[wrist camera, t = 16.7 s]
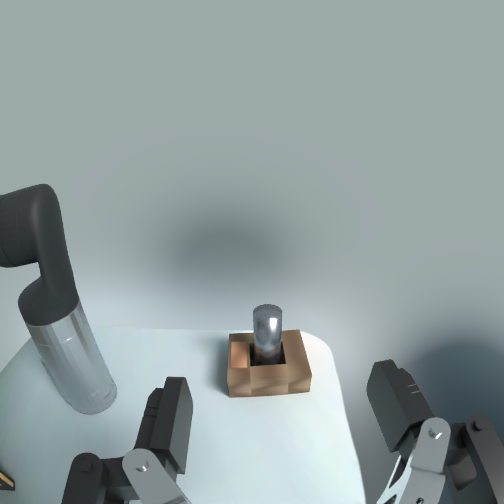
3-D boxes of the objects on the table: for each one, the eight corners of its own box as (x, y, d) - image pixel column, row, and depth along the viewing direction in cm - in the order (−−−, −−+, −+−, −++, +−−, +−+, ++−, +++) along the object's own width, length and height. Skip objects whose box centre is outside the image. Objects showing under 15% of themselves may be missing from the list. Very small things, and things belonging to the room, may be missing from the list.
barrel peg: (255, 380, 41) (253, 321, 37) (254, 363, 45) (252, 305, 40) (280, 378, 41) (283, 319, 37) (278, 361, 45) (280, 303, 41)
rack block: (229, 397, 38) (226, 379, 37) (231, 350, 48) (229, 332, 47) (309, 391, 38) (311, 373, 37) (298, 346, 49) (299, 328, 47)
